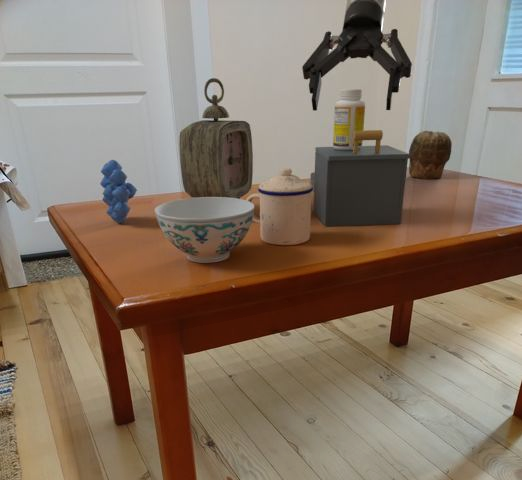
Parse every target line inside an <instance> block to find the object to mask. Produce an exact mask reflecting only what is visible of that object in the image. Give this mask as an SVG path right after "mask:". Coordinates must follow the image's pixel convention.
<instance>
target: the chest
mask: <svg viewBox="0 0 522 480" xmlns="http://www.w3.org/2000/svg"><path fill="white" fill-rule="evenodd" d="M408 161H409V159H378V160H342V161H328V160H327V159H326V158H324V157H323V156H321V155H320V154H319V153H317V152H316V151H314V172H315V179H314V192H313V210H312V211H313V213H314V214H315V216H316V217H317V218H318V220H319V221H320V222H321V224H322V225H323V226H324V227H347V226H348V227H350V226H352V227H353V226H374V225H376V226H378V225H400V224H401V223H402V215H403V206H404V198H405V190H406V189H405V187H406V180H407V171H408V170H407V169H408V164H409V163H408Z"/></svg>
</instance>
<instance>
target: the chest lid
mask: <svg viewBox="0 0 522 480" xmlns="http://www.w3.org/2000/svg"><path fill="white" fill-rule="evenodd" d="M383 137H384V132H383V130H382V129H374V130H373V129H371V130H364V131H354V132H353V140H354V147H353V150H351V151H343V150H336V149H334V147H333V146H316V147H315V148H314V149H315V151H314V152H317V153H319V154H320V155H321V156H323V157H324V158H326V159H327V160H328V161H342V160H378V159H408V160H410V159H409V158H410V154H409V152H406V151H403V150H400V149H398V148H395V147H393V146H390V145H387V144H385V145H384V144H383V145H382V144H381V143H382V142H381V141H382V139H383ZM359 140H363V141H375V144H374V145H362V148H361V149H359V150H358V142H359Z"/></svg>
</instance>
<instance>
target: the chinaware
mask: <svg viewBox="0 0 522 480" xmlns="http://www.w3.org/2000/svg"><path fill="white" fill-rule="evenodd" d="M246 200H247V199H243V198H240V199H237V198H228V197H198V198H193V197H190V198H181V199H176V200H175V199H174V200H170V201H167V202H163V203H161V204H159V205H157V206H156V207H155V208H154V214H155V217H156V220H157V224H158V225H159V227H160V229H161V231H162V233H163V235H164V236H165V238H166V239H167V240H168V241H169V242H170V243H171V244H172V245H173V246H174V247H175V248H176V249H178V250H179V251H180V252H183V253H184V254H186V259H187V260H188V261H191V262H194V263H198V264H199V263H201V264H209V263H211V264H213V263H218V262H223V261H225V260H227V259H228V258H230V256H231V254H230V252H231V251H233V250H234V249H236V248H237V247H238V246H239V245H240V244H241V243H242V242H243V240H244V239H245V238H246V236H247V235H248V232H249V230H250V228H251V225H252V223H253V215H255V209H256V207H255V206H256V205H255V204H254V203H253V202H252V201H251V202H249V201H246Z"/></svg>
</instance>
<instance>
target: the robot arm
mask: <svg viewBox="0 0 522 480" xmlns="http://www.w3.org/2000/svg"><path fill="white" fill-rule="evenodd" d="M386 3H387V0H346V5H345V6H346V7H345V12H344V13H345V14H344V19H343V25H342V30H341V32H340V34H339V35H332V32H331V31H326V32H325V33H324V37H323V39H322V41H321V42H320V43H319V44H318V46H317V47H316V48H315V50H313V52H312V54H311V55H310V56H309V57H308V59H307V60H306V61H305V62H304V63H303V65H302V66H301V69H302V74H303V79H304V80H305V81H306V80H309V82H308V91H309V94H312V95H311V105H312V111H318V105H319V101H320V94H321V89H322V83H323V82H322V78H323V77H325V76H326V75H327V74H328V73H329V72H331V70H333V69H334V68H335V67H336V66H338V65H339V64H340V63H344V62H345V61H347V60H348V59H349V58H350V59H357V58H360V59H367V58H368V57H370V59H371V60H372V61H373V62H376V63H377V64H378V65H379V66H380V67H381V68H382V69H383V70H384V71H385V72H386V73H387V74H388V75H389V78H388V86H387V93H386V108H385V111H391V108H392V100H393V94H394V93H395V94H396V93H397V94H398V93H399V92H400V87H401V79H402V78H406V79H409V78H411V76H412V70H413V69H412V68H413V63H412V61H411V59H410V57H409V55H408V54H407V52H406V50H405V48H404V47H403V44H402V43H401V41H400V39H399V35H398V29H397V28H393V29H391V30H390V33H383V32H382V31H383V24H384V17H385V10H386ZM383 43H384V44H385V45H386V46H387V48H388V49H390V52H391V54H392V55H391V54H390V53H388V51H387V50H386V49H385V48H384V47H383V46H382V45H383ZM335 46H336V47H335ZM392 56H393V57H392Z"/></svg>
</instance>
